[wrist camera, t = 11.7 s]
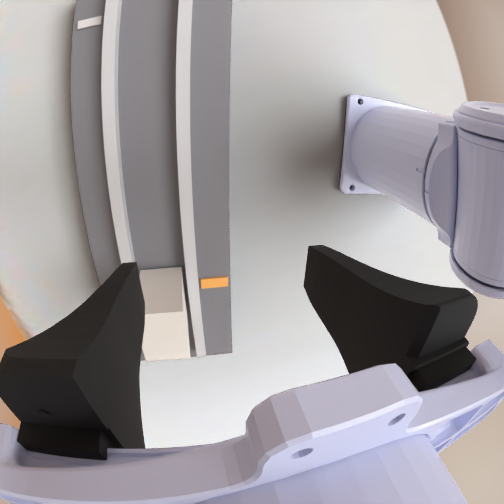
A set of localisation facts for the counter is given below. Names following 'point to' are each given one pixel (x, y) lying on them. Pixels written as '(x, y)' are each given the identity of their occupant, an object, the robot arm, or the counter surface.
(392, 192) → the robot arm
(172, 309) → the fader tab
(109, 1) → the fader track
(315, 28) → the counter surface
